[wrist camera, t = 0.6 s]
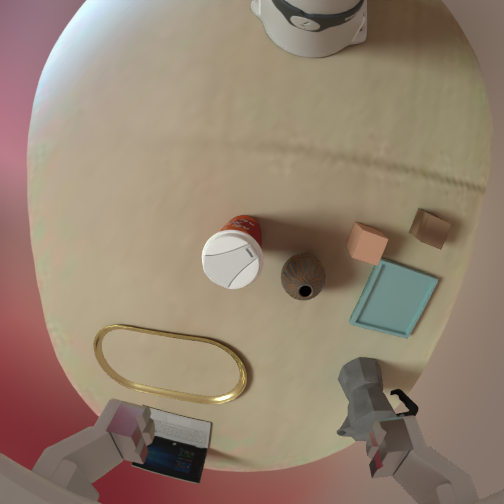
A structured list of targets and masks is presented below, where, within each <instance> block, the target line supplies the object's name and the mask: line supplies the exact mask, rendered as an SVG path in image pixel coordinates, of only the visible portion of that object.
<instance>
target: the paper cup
mask: <svg viewBox="0 0 504 504" xmlns="http://www.w3.org/2000/svg"><path fill="white" fill-rule="evenodd" d="M202 263H203V268H204V272H205V273H206V275H207V276H208V277H209V279H210V280H211V281H213V282H215V283H216V284H218V285H220V286H222V287H225V288H228V289H238V288H242V287H245V286H247V285H249V284H251V283H252V282H254V281H255V280H256V279H257V278H258V276H259V275H260V273H261V271H262V268H263V263H264V258H263V253H262V250H261V231H260V227H259V225H258V223H257V222H256V221H255V220H254V219H253V218H251V217H249V216H245V215H241V216H237V217H235V218H233V219H232V220H230V221H229V222H228V223H227V224H226V225H225V226H224V227H223V228H222V229H221V231H220V232H218V233H216V234H214V235H213V236H212V237H211V238H210V239H209V240H208V241H207V242H206V244H205V246H204V248H203V252H202Z"/></svg>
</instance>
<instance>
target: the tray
mask: <svg viewBox="0 0 504 504" xmlns="http://www.w3.org/2000/svg"><path fill="white" fill-rule="evenodd" d="M438 281H439V280H438V279H437V278H436V277H435V276H432V275H429V274H426V273H424V272H421V271H418V270H415V269H412V268H410V267H407V266H404V265H401V264H398V263H395V262H392V261H390V260H387V259H384V258H381V259H380V261H379V263H378V266H376V265H375V266H374V268H373V271H372V273H371V275H370V277H369V280H368V282H367V284H366V286H365V288H364V290H363V293H362V295H361V297H360V299H359V301H358V303H357V305H356V307H355V309H354V311H353V314H352V316H351V318H350V320H349V321H350V324H351V325H355V326H359V327H362V328H366V329H370V330H374V331H378V332H382V333H387V334H391V335H395V336H399V337H403V338H407V339H408V337H409V335H410V334H411V332H412V330H413V328H414V327H415V325H416V323H417V321H418V319H419V318H420V316H421V314H422V312H423V310H424V308H425V306H426V305H427V303H428V301H429V299H430V297H431V295H432V293H433V291H434V289H435V287H436V285H437V283H438Z"/></svg>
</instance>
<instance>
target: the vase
mask: <svg viewBox="0 0 504 504" xmlns="http://www.w3.org/2000/svg"><path fill="white" fill-rule="evenodd" d="M281 282H282V285H283V288H284V289H285V291H286V292H287V293H288V294H289V295H290V296H291V297H293V298H295V299H297V300H309V299H312V298H314V297H315V296H317V295H318V294H319V293H320V292H321V290H322V288H323V286H324V283H325V272H324V269H323V266H322V265H321V263H320V262H319V260H317V259H316V258H315V257H313V256H311V255H308V254H297V255H294V256H292V257H291V258H289V259H288V260H287V261H286V263H285V264H284V266H283V268H282V272H281Z"/></svg>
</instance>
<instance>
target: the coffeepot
mask: <svg viewBox="0 0 504 504" xmlns="http://www.w3.org/2000/svg"><path fill="white" fill-rule="evenodd" d="M338 380H339V382H340V384H341V386H342V389H343V391H344V393H345V395H346V397H347V399H348V400H349V405H348V416H347V417H346V419H345V421H344V423H343V425H342V426H341V428H340V429H339V430H337V434H338V435H340V436H350V437H352V438H353V439H354V440H355V441H367V437H368V435H369V433H370V432H371V431H373V424H374V422H375V421H376V420H378V419H387V418H395V417H405V416H413V415H414V416H415V415H416V414H417V412H418V406H417V405H416V404H415V403H414V402H413V401H412V400H411V399H410V398H409V397H408V396H407V395H406V394H405V393H404V392H403V391H402V390H400V389H396V390H393V391H391V394H390V395H394V394H396V395H398V396H399V399H400V400H401V401H402V402H403V403H404V404H405V406H406V407H407V408H408V409H409V411H408V412H404V413H399V414H395V412H394V410H393V408H392V406H391V405H390V403H389V401H388V399H387V398H386V396H385V394H384V393H383V384H382V375H381V369H380V367H379V365H378V364H377V362H376V361H375V359H371V358H357V359H354V360H352V361H350V362H349V363H347V364H346V365H345V366H343V368H342V370H341V372H340V375H339V378H338Z"/></svg>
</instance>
